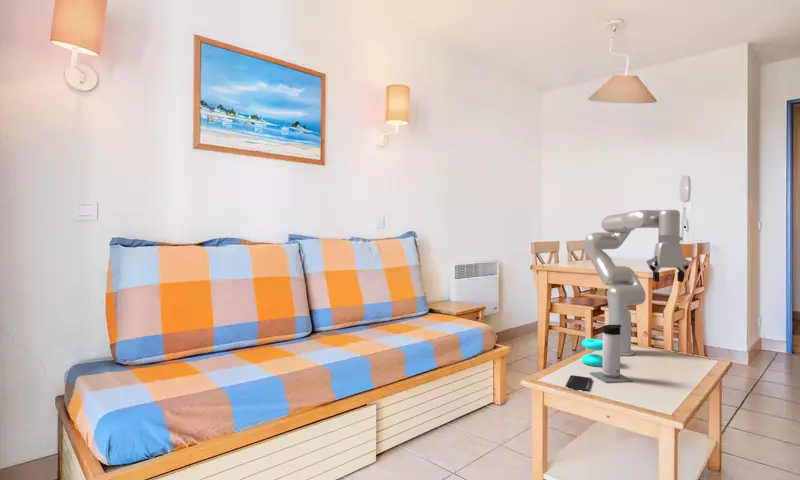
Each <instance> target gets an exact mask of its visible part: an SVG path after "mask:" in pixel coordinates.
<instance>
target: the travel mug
mask: <svg viewBox="0 0 800 480" xmlns="http://www.w3.org/2000/svg"><path fill="white" fill-rule="evenodd" d="M620 327H622V326H621V325H609V324H605V325H603V327H602V340H603V350H602V356H603V366H601V367H602V369H601V372H602V375H603V376H605V377H608V378H619V377H620V374H621V355H620V344H621V336H620V335H621V334H620Z"/></svg>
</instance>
